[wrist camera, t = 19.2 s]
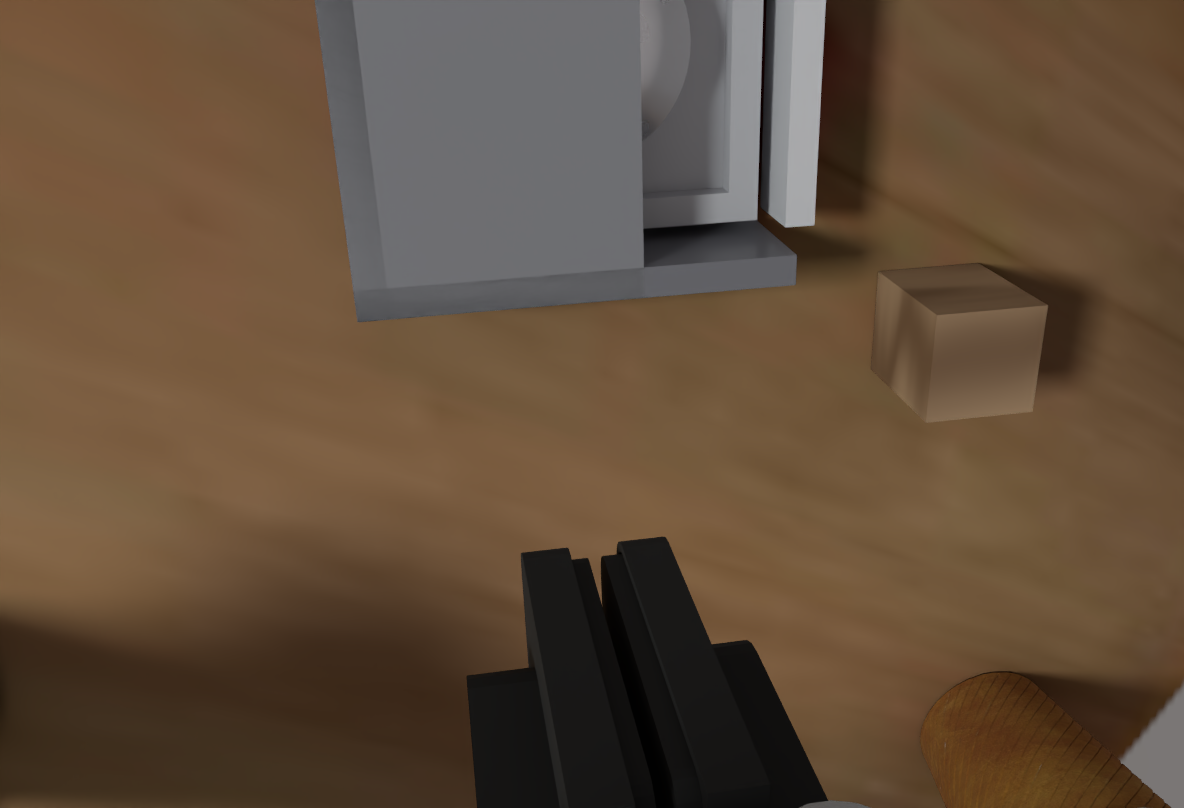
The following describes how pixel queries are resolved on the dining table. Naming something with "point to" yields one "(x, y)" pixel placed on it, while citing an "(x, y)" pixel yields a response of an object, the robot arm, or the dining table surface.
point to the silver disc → (662, 58)
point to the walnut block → (957, 341)
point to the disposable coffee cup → (1021, 752)
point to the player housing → (507, 161)
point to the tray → (741, 118)
